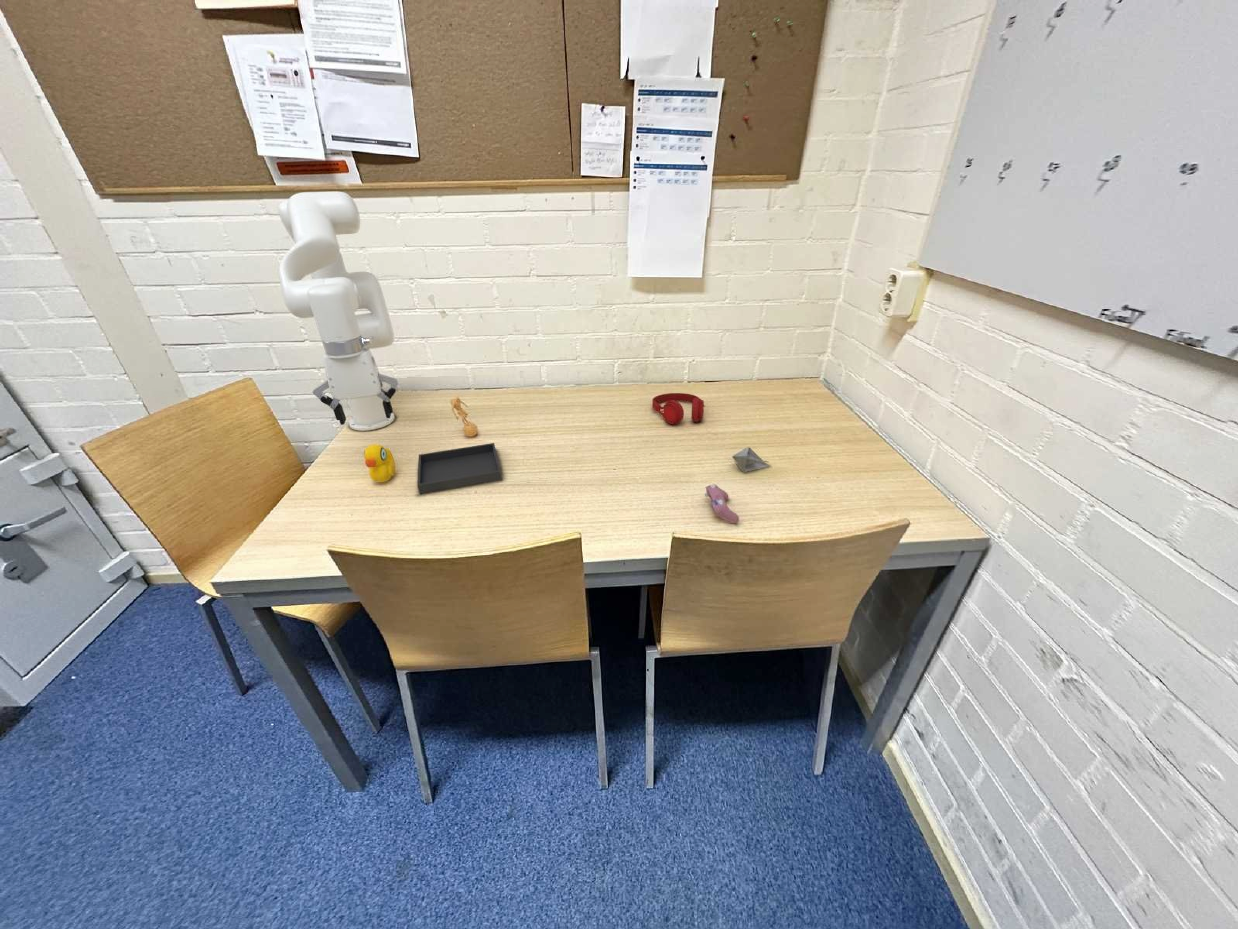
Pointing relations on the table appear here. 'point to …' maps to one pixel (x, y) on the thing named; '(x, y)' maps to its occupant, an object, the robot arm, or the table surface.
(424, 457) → the pan
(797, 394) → the table surface
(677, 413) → the headphones
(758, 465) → the paper boat
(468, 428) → the figurine
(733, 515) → the pink elongated piece
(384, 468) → the duckling
